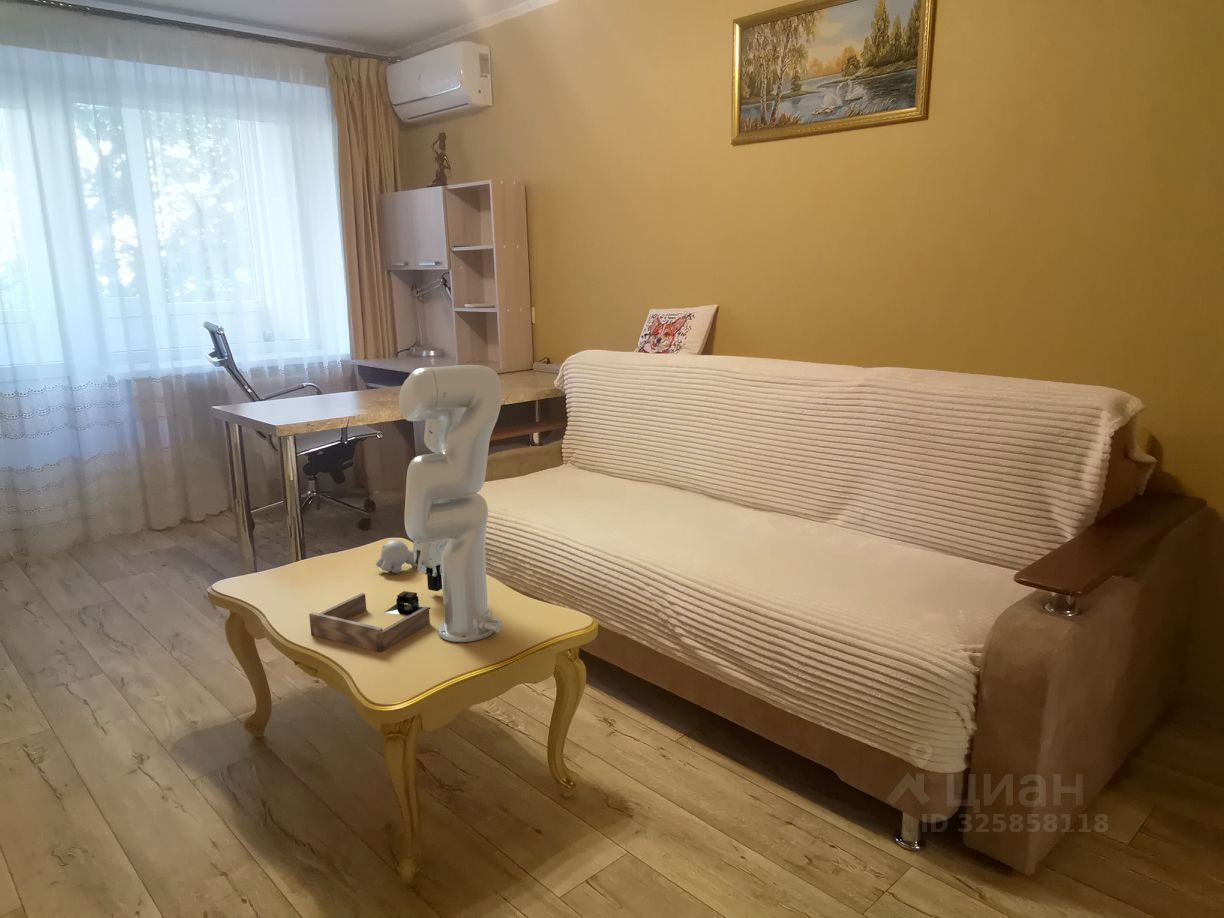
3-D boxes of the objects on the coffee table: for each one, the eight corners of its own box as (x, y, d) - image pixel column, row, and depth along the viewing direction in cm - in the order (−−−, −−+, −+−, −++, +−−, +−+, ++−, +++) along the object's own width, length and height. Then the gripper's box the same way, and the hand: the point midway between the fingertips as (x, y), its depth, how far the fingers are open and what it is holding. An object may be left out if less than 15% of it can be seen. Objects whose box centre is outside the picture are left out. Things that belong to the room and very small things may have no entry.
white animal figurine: (422, 579, 217) (432, 550, 217) (380, 572, 210) (390, 541, 210) (412, 571, 223) (422, 542, 223) (372, 564, 216) (381, 534, 216)
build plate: (377, 615, 189) (375, 596, 188) (393, 604, 196) (392, 586, 195) (424, 620, 186) (422, 601, 185) (439, 608, 192) (438, 590, 192)
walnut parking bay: (429, 623, 183) (428, 603, 182) (380, 652, 169) (378, 629, 168) (363, 608, 191) (361, 589, 190) (311, 634, 177) (309, 613, 176)
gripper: (422, 528, 187) (427, 602, 191) (462, 512, 200) (465, 582, 204) (397, 524, 190) (402, 597, 194) (438, 508, 203) (442, 577, 207)
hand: (435, 589), depth 199 cm, fingers closed
